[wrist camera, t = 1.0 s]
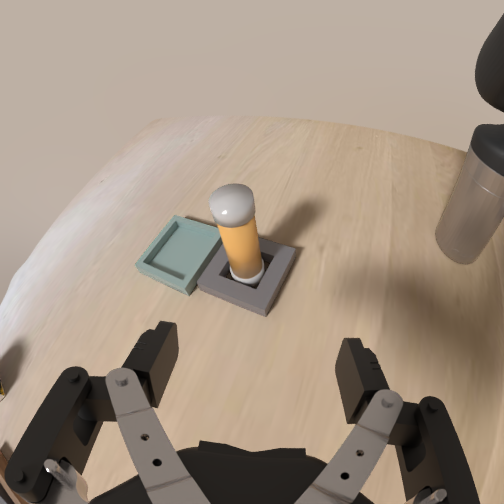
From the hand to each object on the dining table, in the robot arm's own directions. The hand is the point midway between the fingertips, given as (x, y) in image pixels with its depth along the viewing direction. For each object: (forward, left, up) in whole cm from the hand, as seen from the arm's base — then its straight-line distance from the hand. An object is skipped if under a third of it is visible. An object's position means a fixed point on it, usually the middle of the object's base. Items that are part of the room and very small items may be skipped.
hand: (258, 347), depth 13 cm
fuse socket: (-14, -11, -20) cm, 27 cm away
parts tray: (-13, -22, -20) cm, 32 cm away
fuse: (-14, -11, -20) cm, 27 cm away
